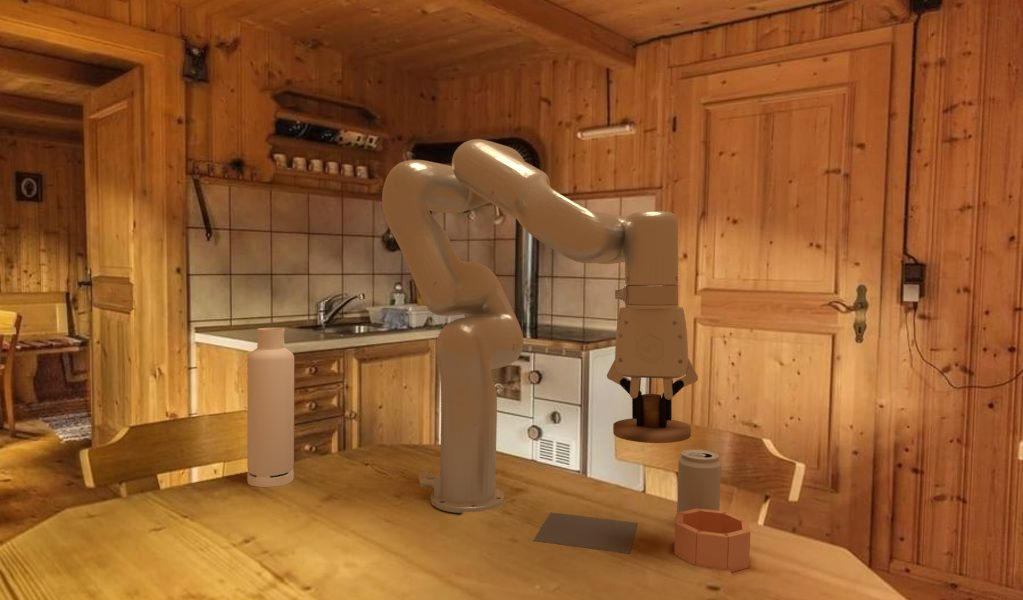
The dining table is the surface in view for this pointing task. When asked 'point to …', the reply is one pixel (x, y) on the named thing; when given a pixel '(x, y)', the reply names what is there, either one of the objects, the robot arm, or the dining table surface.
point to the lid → (651, 425)
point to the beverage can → (698, 480)
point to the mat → (587, 532)
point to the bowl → (712, 539)
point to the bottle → (270, 411)
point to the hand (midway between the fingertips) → (651, 423)
